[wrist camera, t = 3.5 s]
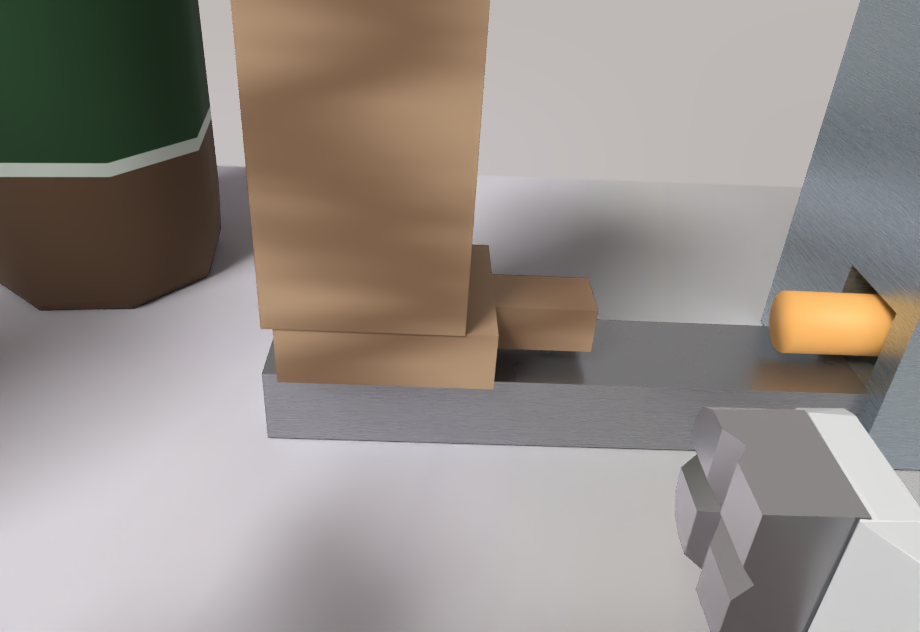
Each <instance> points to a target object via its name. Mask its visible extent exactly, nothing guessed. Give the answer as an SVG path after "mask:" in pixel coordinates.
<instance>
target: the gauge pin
mask: <svg viewBox="0 0 920 632" xmlns="http://www.w3.org/2000/svg"><path fill="white" fill-rule="evenodd" d="M895 316H896V312H895V311H894V310H893V309H892V308H891V307H890V306H889V305H888V303H887V302H886V301H885V300H884V299H883V298H882V297H881V296H880V295H879V294H860V293H835V292H811V291H786V290H784V291H781V292H779V293H778V294H777V295H776V297H775V299H774V301H773V303H772V306H771V310H770V315H769V332H770V338H771V341H772V344H773V346H774V348H775V349H776V350H777V351H778V352H780V353H799V354H827V355H854V356H879V354H880V352H881V349H882V347H883V344H884V342H885V340H886V337H887V335H888V332H889V330H890V328H891V325H892V323H893V320H894V318H895Z"/></svg>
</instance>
